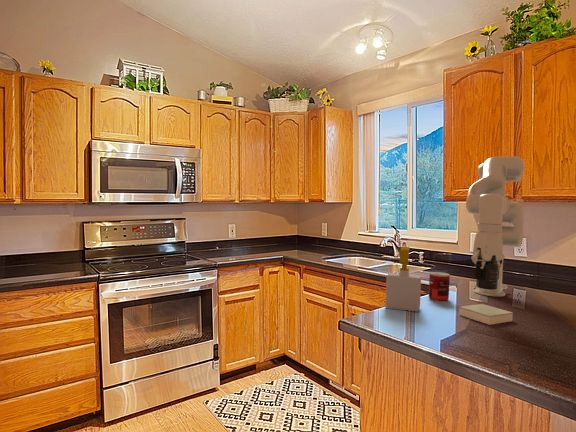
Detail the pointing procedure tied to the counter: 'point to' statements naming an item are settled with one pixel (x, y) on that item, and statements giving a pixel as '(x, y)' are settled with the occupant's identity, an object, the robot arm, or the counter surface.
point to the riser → (486, 314)
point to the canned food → (439, 286)
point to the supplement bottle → (489, 275)
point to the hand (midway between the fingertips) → (487, 278)
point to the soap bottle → (403, 287)
